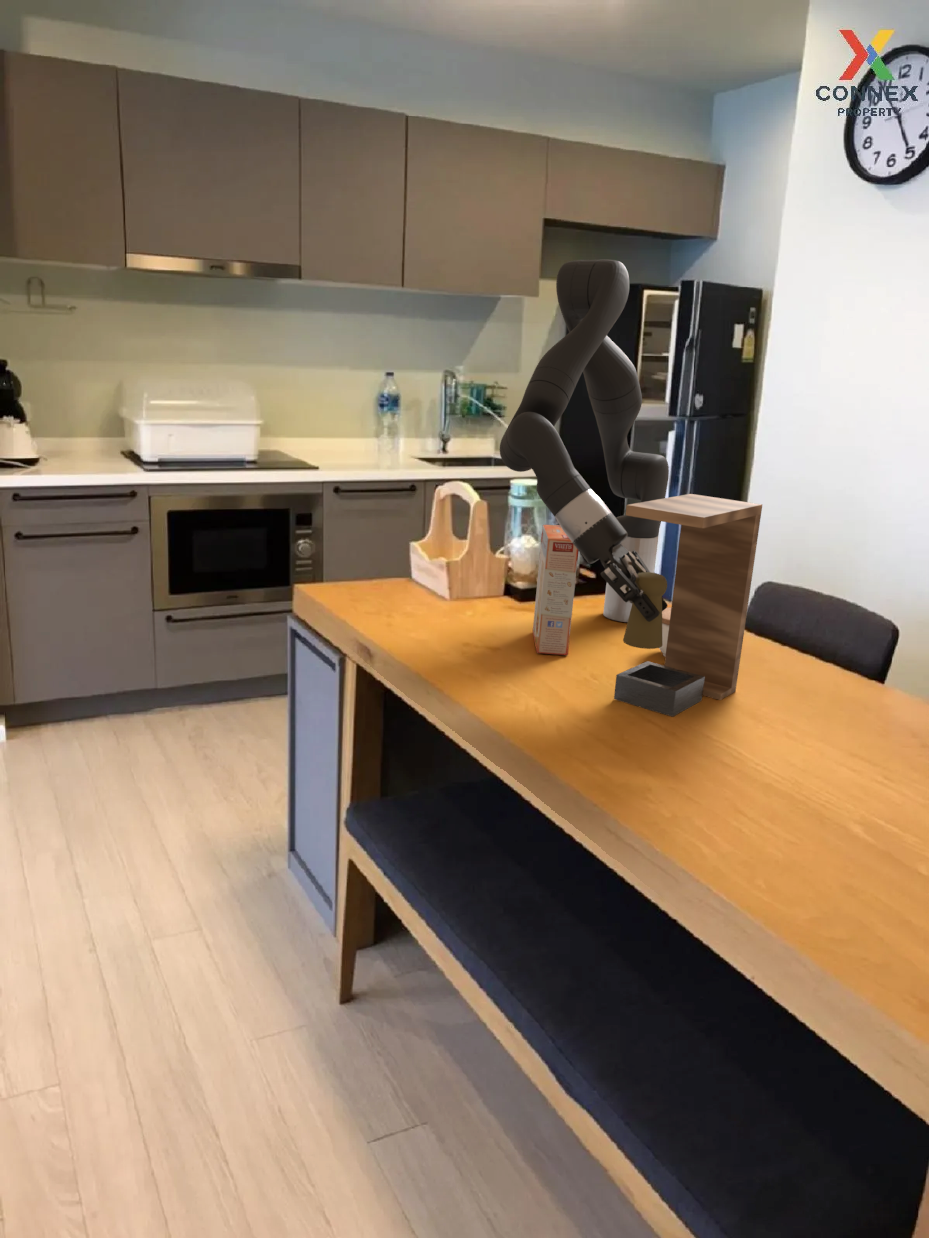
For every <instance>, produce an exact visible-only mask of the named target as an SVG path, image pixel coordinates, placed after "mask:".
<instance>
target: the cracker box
mask: <svg viewBox="0 0 929 1238" xmlns="http://www.w3.org/2000/svg"><path fill="white" fill-rule="evenodd" d="M540 538H541V539H540V549H539V550H540V551H539V560H538V572H537V581H536V582H537V583H536V590H535V591H536V594H535V603H534V613H533V614H534V615H533V623H532V635H533V640H534V644H535V650H536V654H545V655H556V656H568V654H569V647H570V646H569V645H570V636H571V627H572V626H571V625H572V617H573V607H574V598H575V588H576V577H577V569H578V561H579V560H578V559H579V553H580V552H579V551H578V549H577V548H576V547H575V545H574V544H573V543H572V541H571V540H570V539H569V538H568V536H567V535H566V534H565V532H564V531H563V529H562V528H561V526H560V524H559V525H558V524H556V525H555V524H542V527H541V536H540Z"/></svg>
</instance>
